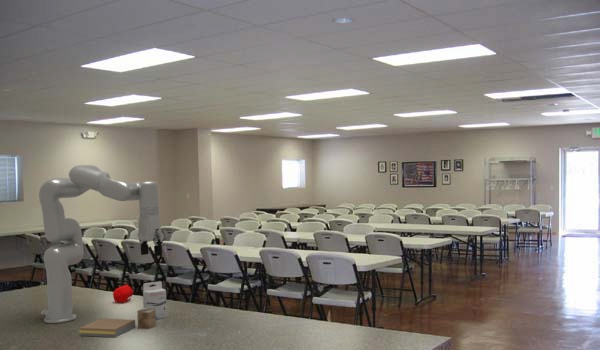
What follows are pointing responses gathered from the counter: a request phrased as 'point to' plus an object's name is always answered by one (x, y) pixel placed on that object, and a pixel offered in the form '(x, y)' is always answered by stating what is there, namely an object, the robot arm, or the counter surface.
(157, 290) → the ink box
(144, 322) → the brown wooden block
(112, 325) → the dock
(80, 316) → the counter surface
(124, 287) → the red animal figurine
